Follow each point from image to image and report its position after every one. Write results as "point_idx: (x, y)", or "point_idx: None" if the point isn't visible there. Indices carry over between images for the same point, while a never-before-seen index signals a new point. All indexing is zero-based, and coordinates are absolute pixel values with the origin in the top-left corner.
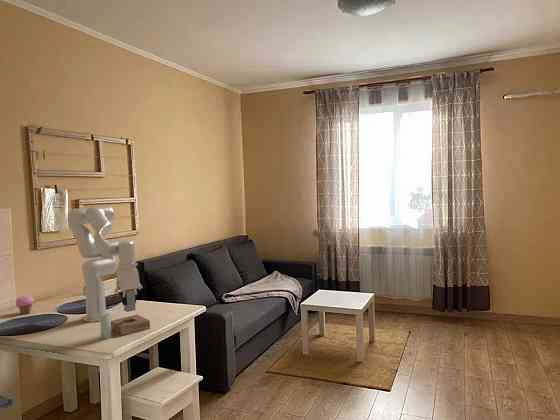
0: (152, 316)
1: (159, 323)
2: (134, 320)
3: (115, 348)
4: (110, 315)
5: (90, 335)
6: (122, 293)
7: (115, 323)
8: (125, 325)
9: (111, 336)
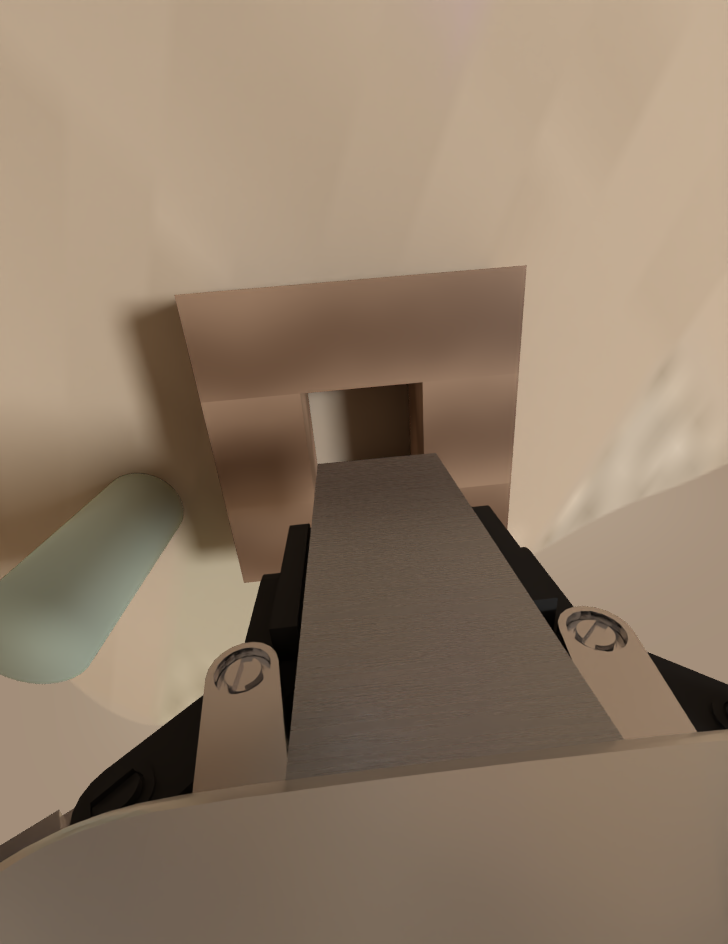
0: (708, 170)
1: (596, 452)
2: (420, 424)
3: (174, 704)
4: (94, 643)
5: (10, 359)
6: (254, 743)
7: (219, 441)
8: None
9: (181, 519)
